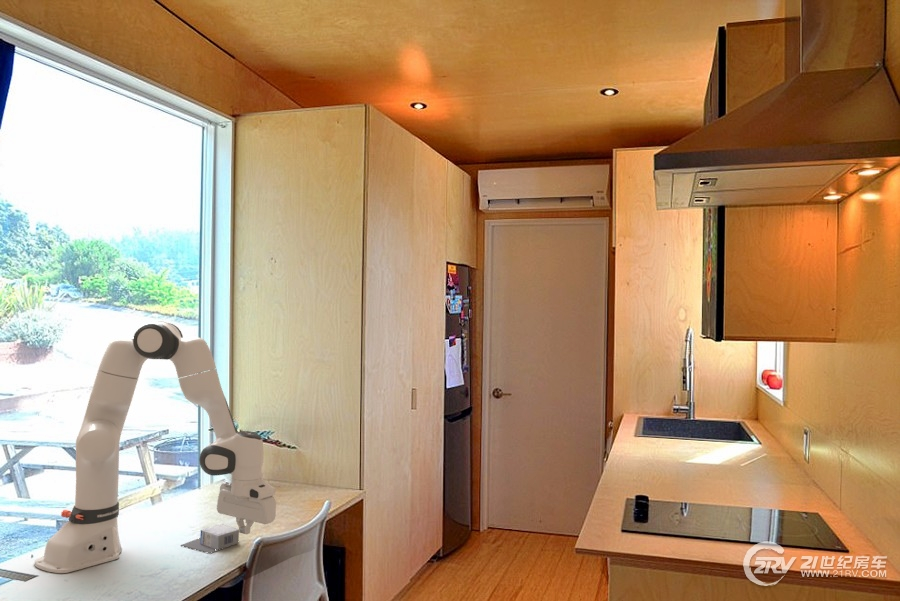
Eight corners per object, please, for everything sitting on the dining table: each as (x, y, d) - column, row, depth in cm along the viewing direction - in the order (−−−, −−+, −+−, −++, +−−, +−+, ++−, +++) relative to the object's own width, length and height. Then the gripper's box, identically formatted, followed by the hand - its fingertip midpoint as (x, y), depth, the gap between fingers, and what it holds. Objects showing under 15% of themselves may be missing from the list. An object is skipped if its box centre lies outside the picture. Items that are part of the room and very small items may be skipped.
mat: (209, 553, 204) (209, 552, 204) (180, 546, 209) (180, 545, 209) (239, 541, 214) (239, 540, 214) (210, 534, 220) (210, 533, 220)
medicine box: (239, 543, 212) (221, 537, 217) (239, 528, 212) (221, 523, 217) (217, 550, 206) (199, 544, 211) (218, 535, 206) (200, 529, 211)
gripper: (213, 483, 207) (210, 529, 207) (265, 494, 198) (263, 542, 198) (228, 479, 213) (226, 523, 213) (280, 489, 204) (277, 536, 204)
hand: (244, 533), depth 205 cm, fingers closed
